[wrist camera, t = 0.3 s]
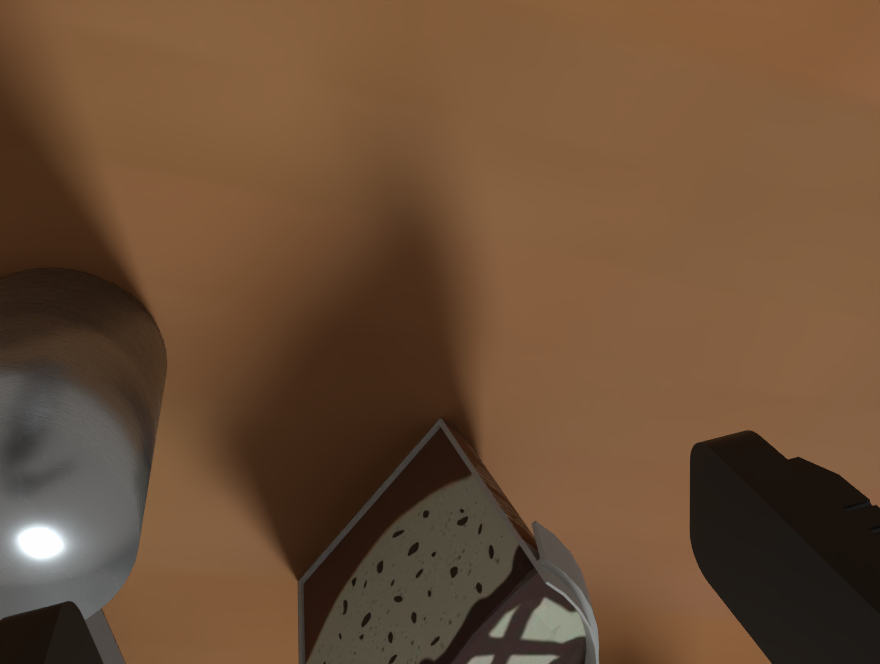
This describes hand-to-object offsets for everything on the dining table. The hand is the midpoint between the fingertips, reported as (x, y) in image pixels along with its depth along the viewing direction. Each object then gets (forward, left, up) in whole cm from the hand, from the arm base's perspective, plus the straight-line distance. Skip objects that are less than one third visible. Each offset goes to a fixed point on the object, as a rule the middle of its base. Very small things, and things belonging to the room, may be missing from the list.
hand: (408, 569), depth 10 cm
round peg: (+4, -9, -18) cm, 20 cm away
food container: (+15, +2, -18) cm, 23 cm away
